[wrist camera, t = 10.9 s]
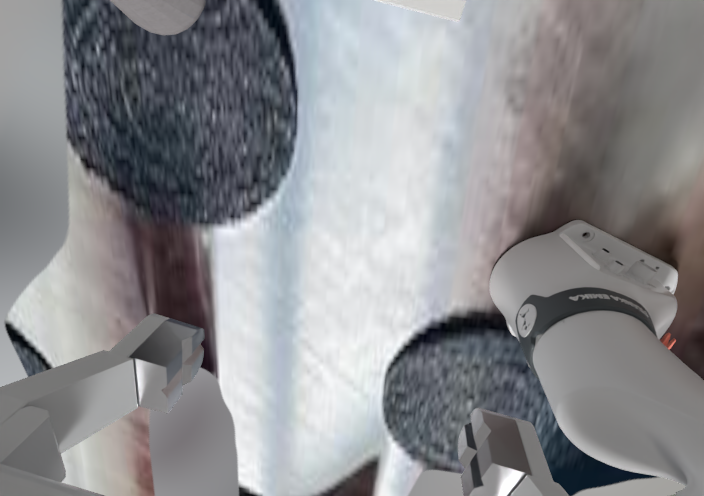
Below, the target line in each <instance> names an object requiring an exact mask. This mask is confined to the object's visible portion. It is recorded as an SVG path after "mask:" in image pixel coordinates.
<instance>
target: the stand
mask: <svg viewBox="0 0 704 496" xmlns="http://www.w3.org/2000/svg"><path fill="white" fill-rule="evenodd" d="M374 1H377V2H381V3H385V4H389V5H393V6H397V7H401V8H405V9H408V10H412V11H416V12H420V13H424V14H428V15H432V16H436V17H439V18H443V19H447V20H451V21H455V22H459V21H460V18H461V15H462V12H463V9H464V6H465V2H466V0H374Z"/></svg>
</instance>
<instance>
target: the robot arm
mask: <svg viewBox="0 0 704 496" xmlns="http://www.w3.org/2000/svg"><path fill="white" fill-rule="evenodd" d="M585 232H588V233H587V235H585V236H582V235H583V234H584V233H585ZM677 282H678V272H677V270H676V269H675V268H674V267H672V266H671V265H669V264H667V263H666V262H664V261H662V260H660V259H658V258H656V257H654V256H652V255H650V254H648V253H646V252H644V251H642V250H640V249H638V248H636V247H634V246H632V245H630V244H628V243H626V242H624V241H622V240H620V239H618V238H616V237H614V236H612V235H610V234H608V233H606V232H604V231H602V230H600V229H598V228H596V227H594V226H592V225H590V224H588V223H586V222H584V221H582V220H574V221H571V222H569V223H567V224H565V225H564V226H562V227H560V228H559V229H557V230H556V231H554V232H551V233H548V234H545V235H540V236H536V237H533V238H530V239H527V240H525V241H523V242H521V243H519V244H517V245H515V246H514V247H512V248H511V249H510V250H508V251H507V252H506V253H505V254H504V255H503V256H502V257H501V258H500V259H499V261H498V262H497V264H496V265H495V267H494V269H493V271H492V274H491V277H490V294H491V297H492V300H493V302H494V303H495V305H496V306H497V308H498V309H499V310H500V311H501V312H502V314H503V315H504V317H505V318H506V322H507V326H508V329H509V331H510V332H511V334H512V335H513V336H515V337H517V339H518V340H519V342H520V345H521V348H522V350H523V353H524V355H525V358H526V360H527V364H528V366H529V367H530V368H531V370H532V372H533V374H534V375H535V376H536V377H537V378H538V379H539V380H540V382H541V384H542V387H543V389H544V392H545V394H546V396H547V399H548V401H549V403H550V406H551V408H552V410H553V413H554V415H555V417H556V420H557V422H558V425H559V426H560V428H561V430H562V431H563V432H564V434H565V435H566V436H567V438H568V439H569V440H570V441H571V442H572V443H573V444H574V445H575V446H577V447H578V448H579V449H580V450H582V451H583V452H585V453H586V454H588V455H589V456H591V457H593V458H595V459H597V460H599V461H602V462H604V463H606V464H608V465H611V466H613V467H616V468H620V469H623V470H626V471H631V472H636V473H642V474H648V475H654V476H659V477H663V478H667V479H670V480H673V481H676V482H678V483H681V484H683V485H685V486H686V487H685V488H684V489H683V490H681V491H678V492H676V494H674V495H671V496H704V380H703V379H701V378H700V377H699V376H698V375H697V374H696V373H694V372H693V371H692V370H691V369H690V368H689V367H688V366H686V365H685V364H684V363H683V362H682V361H681V360H680V359H679V358H677V357H676V356H675V355H674V354H673V353H672V352H671V351H670V350H669V349H670V348H671V347H672V346H673V344H674V343H675V341H676V339H673V340H671V341H670V342H669V343H668V341H669V339H670V336H671V334H670V333H667V334H666V335H665V336H664V337H663V338H662V339H661V341H660V340H659V339H660V338H661V337H662V335H663V334H664V333H665V332H666V330H667V329H668V328H669V326H670V325H671V323H672V321H673V319H674V317H675V315H676V311H677V300H676V298H675V296H674V295H673V294H674V292H675V289H676V286H677ZM665 287H666V288H665ZM203 339H204V330H203V329H202V328H199V327H196V326H193V325H190V324H187V323H183V322H180V321H177V320H174V319H171V318H167V317H164V316H160V315H157V314H151V315H149V316H147V317H146V318H145V319H144V320H143V321H142V322H141V323H140V324H138V325H137V326H136V327H135V328H134V329H133V330H132V331H131V332H130V333H129V334H127V335H126V336H125V337H124V338H123V339H122V340H121V341H120V342H119V343H118V344H116V345H115V346H114V347H113V348H112V349H111V350H110V351H109V352H108V351H105V350H103V351H100V352H97V353H94V354H92V355H89V356H86V357H83V358H80V359H78V360H75V361H72V362H69V363H67V364H64V365H61V366H58V367H55V368H53V369H50V370H47V371H44V372H41V373H39V374H36V375H33V376H30V377H27V378H25V379H22V380H19V381H16V382H14V383H11V384H8V385H5V386H2V387H0V496H104V495H101V494H98V493H94V492H91V491H88V490H85V489H81V488H78V487H75V486H71V485H68V484H65V483H62V481H63V479H64V478H65V475H66V471H65V467H64V464H63V460H62V457H61V453H63V452H64V451H66V450H68V449H70V448H71V447H73V446H75V445H76V444H78V443H80V442H81V441H83V440H85V439H86V438H88V437H90V436H91V435H93V434H95V433H96V432H98V431H100V430H101V429H103V428H105V427H106V426H108V425H110V424H111V423H113V422H115V421H116V420H118V419H120V418H121V417H123V416H125V415H127V414H128V413H130V412H132V411H133V410H135V409H137V408H138V406H140V407H144V408H148V409H151V410H155V411H159V412H163V413H166V414H168V413H169V411H170V410H171V409H172V408H173V406H174V405H175V403H176V402H177V401H178V399H179V398H180V397H181V395H182V386H183V385H185V384H187V383H189V382H191V381H192V380H193V378H194V377H195V375H196V374H197V372H198V370H199V368H200V366H201V363H202V360H203V355H204V349H203V348H202V346H201V345H200V343H201V342H202V341H203ZM470 417H471V423H469V424H466V425H464V427H463V429H462V431H461V432H460V436H459V441H458V456H459V461H460V462H461V464H462V465H463V467H464V468H465V471H464V472H463V474H462V476H461V480H462V487H463V495H464V496H569V495H568V494H567V493H566V491H565V490H564V489H563V488H562V487H561V486H560V484H558V483H555V482H553V479H552V476H551V474H550V471H549V468H548V465H547V462H546V460H545V457H544V454H543V451H542V448H541V445H540V443H539V440H538V437H537V434H536V431H535V429H534V426H533V425H532V424H531V423H530V422H527V421H523V420H520V419H516V418H511V417H510V416H506V415H502V414H499V413H495V412H492V411H488V410H484V409H481V408H476V409H474V410H473V412H472V414H471V415H470Z"/></svg>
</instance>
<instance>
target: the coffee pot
mask: <svg viewBox="0 0 704 496" xmlns="http://www.w3.org/2000/svg"><path fill="white" fill-rule="evenodd" d="M110 1H111V2H113V3H114V4H115V5H116V6H117V7H118V8H119V9H120V10H121V11H122V12H123V13H124V14H126V15H127V16H128V17H129V18H130V19H131V20H132V21H133V22H134V23H135V24H137V25H138V26H140V27H142V28H144V29H146V30H147V31H149V32H152V33H156V34H160V35H173V34H178V33H180V32H182V31H184V30H187V29H188V28H189V27H190V26H191V25H192V24H193V23H194V22H195V21H196V20H197V19H198V18H199V16H200V14H201V13H202V11H203V9H204V7H205V3H206V0H110Z"/></svg>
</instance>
